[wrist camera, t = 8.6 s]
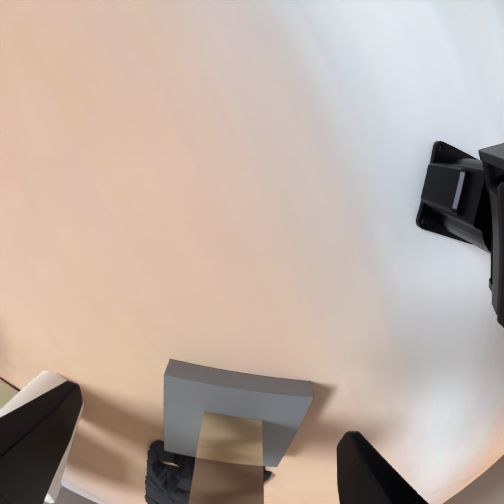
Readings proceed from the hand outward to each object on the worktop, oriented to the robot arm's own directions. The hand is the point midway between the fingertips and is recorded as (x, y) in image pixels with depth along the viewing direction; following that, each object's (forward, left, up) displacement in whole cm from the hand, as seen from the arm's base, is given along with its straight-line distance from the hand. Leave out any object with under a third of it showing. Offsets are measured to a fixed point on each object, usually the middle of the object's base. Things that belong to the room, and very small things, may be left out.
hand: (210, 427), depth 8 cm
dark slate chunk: (0, +33, -14) cm, 36 cm away
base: (-2, +15, -13) cm, 20 cm away
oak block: (-2, +15, -11) cm, 19 cm away
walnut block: (-2, +15, -6) cm, 16 cm away
